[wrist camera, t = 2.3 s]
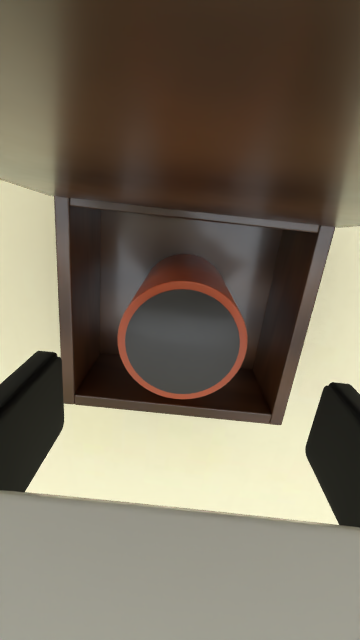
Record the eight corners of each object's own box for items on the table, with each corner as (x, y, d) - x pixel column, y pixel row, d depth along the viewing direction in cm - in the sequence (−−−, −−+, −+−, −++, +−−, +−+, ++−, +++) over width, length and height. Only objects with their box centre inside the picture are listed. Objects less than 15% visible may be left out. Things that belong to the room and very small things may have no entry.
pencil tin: (128, 309, 23) (95, 365, 15) (168, 237, 21) (155, 254, 13) (198, 346, 24) (203, 419, 16) (241, 280, 22) (274, 323, 14)
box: (258, 373, 26) (281, 425, 20) (93, 356, 26) (62, 403, 19) (293, 216, 21) (338, 219, 15) (93, 194, 21) (53, 187, 15)
